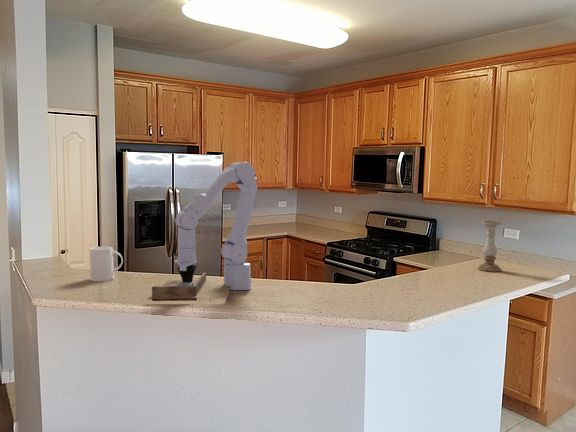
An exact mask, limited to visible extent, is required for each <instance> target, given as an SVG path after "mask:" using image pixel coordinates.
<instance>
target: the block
mask: <svg viewBox="0 0 576 432" xmlns="http://www.w3.org/2000/svg"><path fill="white" fill-rule="evenodd" d="M194 284H195V281H192V282H180V283H179V284H178V285H177V286H194Z"/></svg>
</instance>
